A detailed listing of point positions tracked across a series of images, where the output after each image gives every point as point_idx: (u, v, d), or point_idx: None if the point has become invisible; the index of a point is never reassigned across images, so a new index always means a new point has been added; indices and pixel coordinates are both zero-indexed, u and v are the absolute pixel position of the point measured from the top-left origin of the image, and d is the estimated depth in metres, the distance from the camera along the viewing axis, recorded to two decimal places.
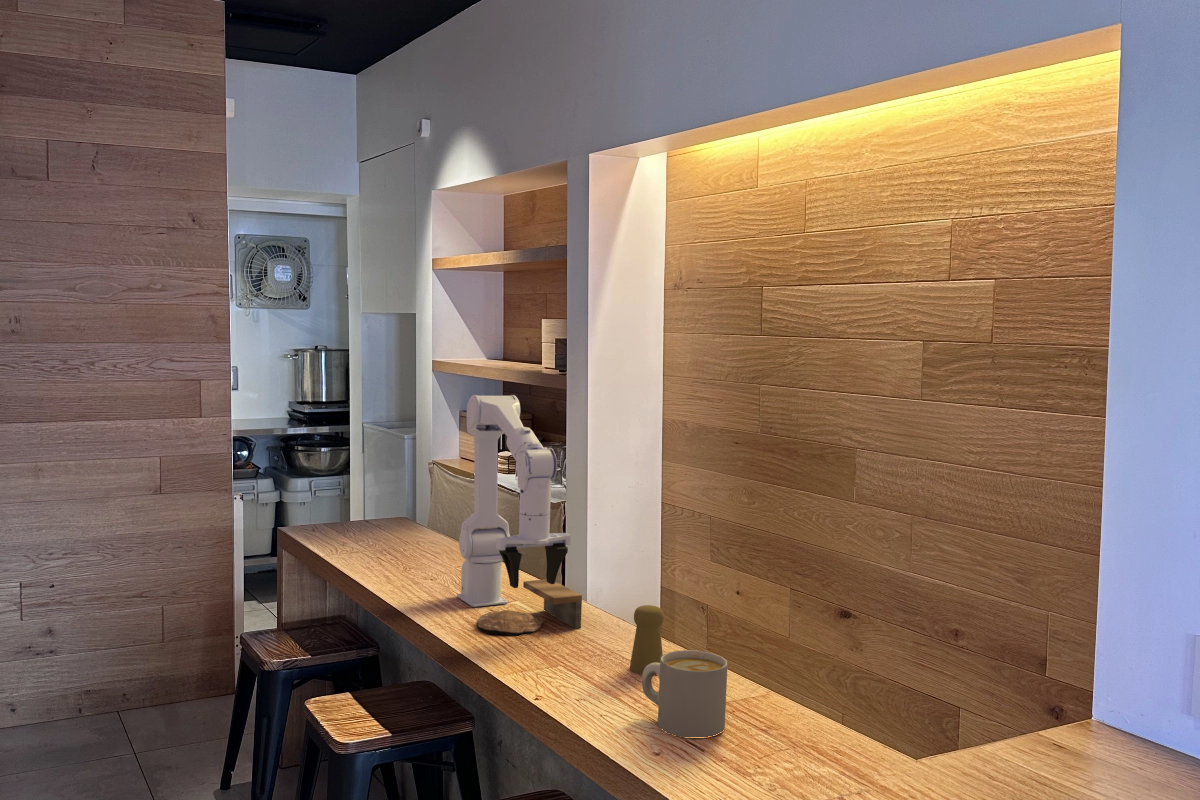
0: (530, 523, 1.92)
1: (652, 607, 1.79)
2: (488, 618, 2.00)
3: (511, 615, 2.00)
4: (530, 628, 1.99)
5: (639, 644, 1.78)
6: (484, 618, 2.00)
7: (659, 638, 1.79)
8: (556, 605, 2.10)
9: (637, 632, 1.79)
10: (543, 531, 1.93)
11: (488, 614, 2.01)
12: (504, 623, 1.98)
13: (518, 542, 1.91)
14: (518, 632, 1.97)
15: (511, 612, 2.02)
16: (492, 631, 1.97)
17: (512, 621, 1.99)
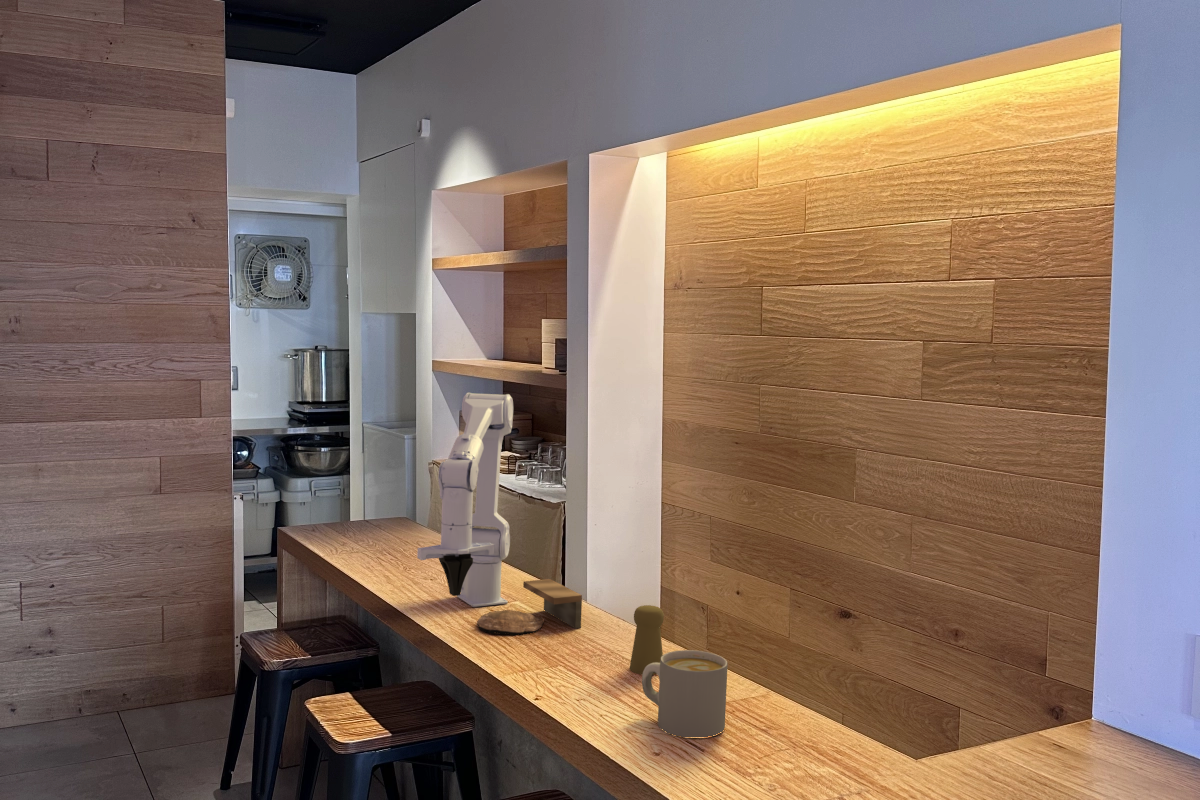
0: (451, 533, 1.93)
1: (652, 607, 1.79)
2: (488, 618, 2.00)
3: (512, 615, 2.00)
4: (531, 628, 1.99)
5: (639, 644, 1.78)
6: (485, 618, 2.00)
7: (659, 638, 1.79)
8: (556, 605, 2.10)
9: (637, 632, 1.79)
10: (464, 541, 1.94)
11: (489, 614, 2.01)
12: (505, 622, 1.98)
13: (439, 552, 1.92)
14: (519, 631, 1.98)
15: (512, 612, 2.02)
16: (493, 631, 1.97)
17: (513, 620, 1.99)
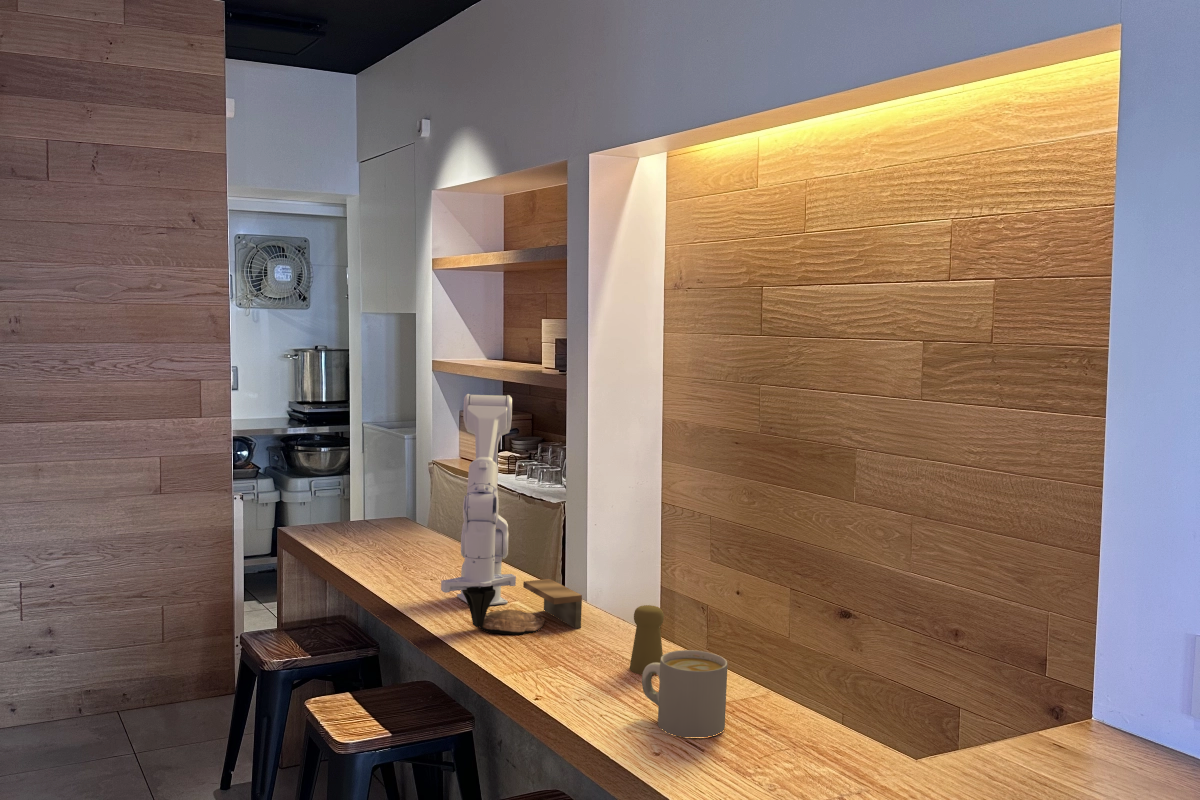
0: (475, 566, 1.96)
1: (652, 607, 1.79)
2: (489, 617, 2.00)
3: (513, 614, 2.01)
4: (532, 627, 2.00)
5: (639, 644, 1.78)
6: (486, 617, 2.01)
7: (659, 638, 1.79)
8: (556, 605, 2.10)
9: (637, 632, 1.79)
10: (487, 574, 1.96)
11: (490, 613, 2.01)
12: (506, 622, 1.98)
13: (462, 584, 1.95)
14: (520, 631, 1.98)
15: (513, 611, 2.02)
16: (494, 630, 1.97)
17: (513, 620, 1.99)
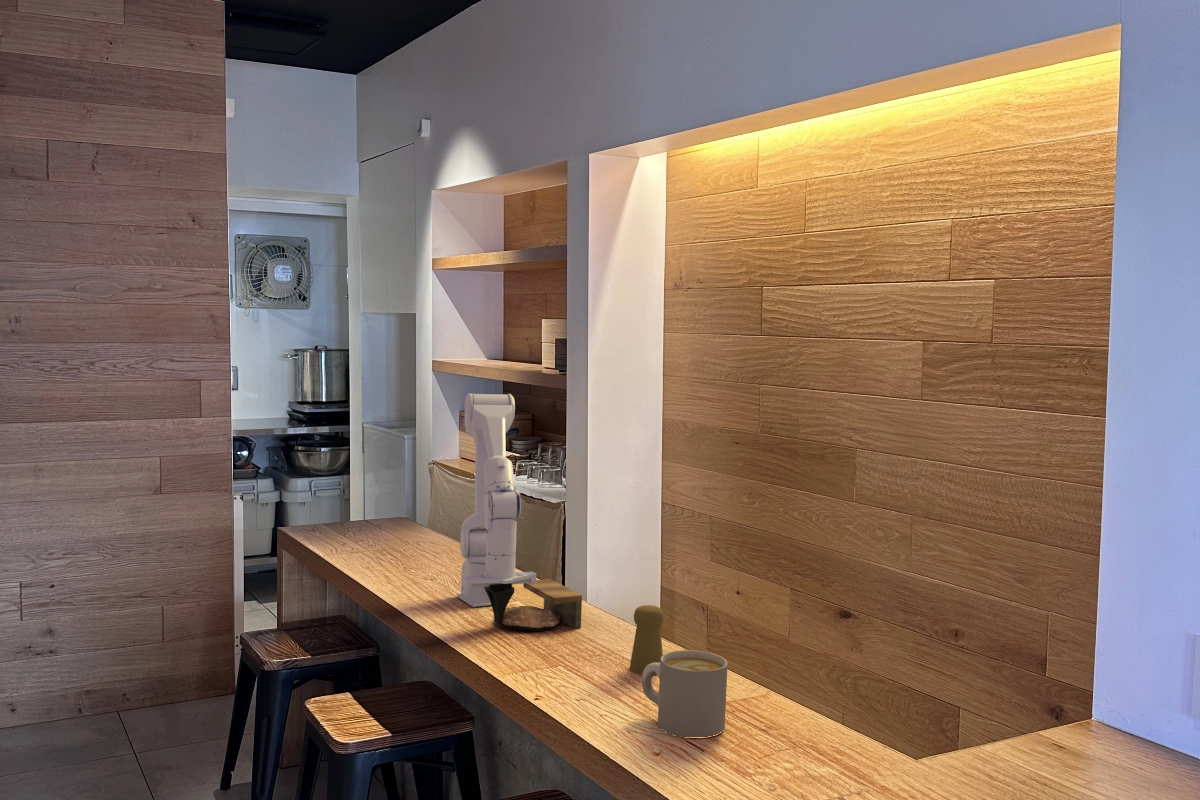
0: (496, 563, 1.98)
1: (652, 607, 1.79)
2: (507, 613, 2.02)
3: (531, 610, 2.02)
4: (550, 623, 2.02)
5: (639, 644, 1.78)
6: (504, 614, 2.02)
7: (659, 638, 1.79)
8: (556, 605, 2.10)
9: (637, 632, 1.79)
10: (508, 571, 1.98)
11: (507, 610, 2.03)
12: (524, 618, 2.00)
13: (484, 581, 1.97)
14: (539, 627, 2.00)
15: (530, 607, 2.04)
16: (513, 626, 1.99)
17: (532, 616, 2.01)
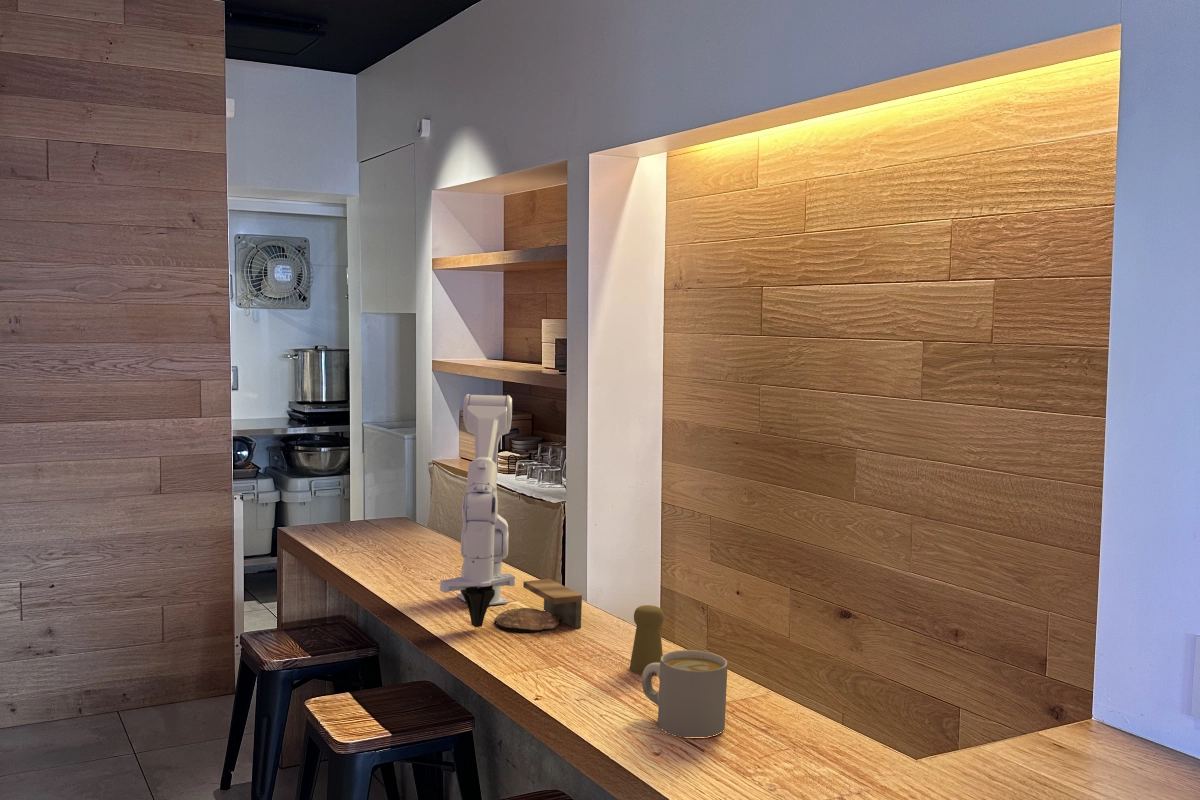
0: (474, 565, 1.96)
1: (652, 607, 1.79)
2: (507, 616, 2.02)
3: (530, 613, 2.02)
4: (550, 625, 2.02)
5: (639, 644, 1.78)
6: (503, 616, 2.02)
7: (659, 638, 1.79)
8: (556, 605, 2.10)
9: (637, 632, 1.79)
10: (486, 573, 1.96)
11: (507, 612, 2.03)
12: (524, 620, 2.00)
13: (461, 584, 1.95)
14: (538, 629, 2.00)
15: (530, 610, 2.04)
16: (513, 628, 1.99)
17: (531, 618, 2.01)
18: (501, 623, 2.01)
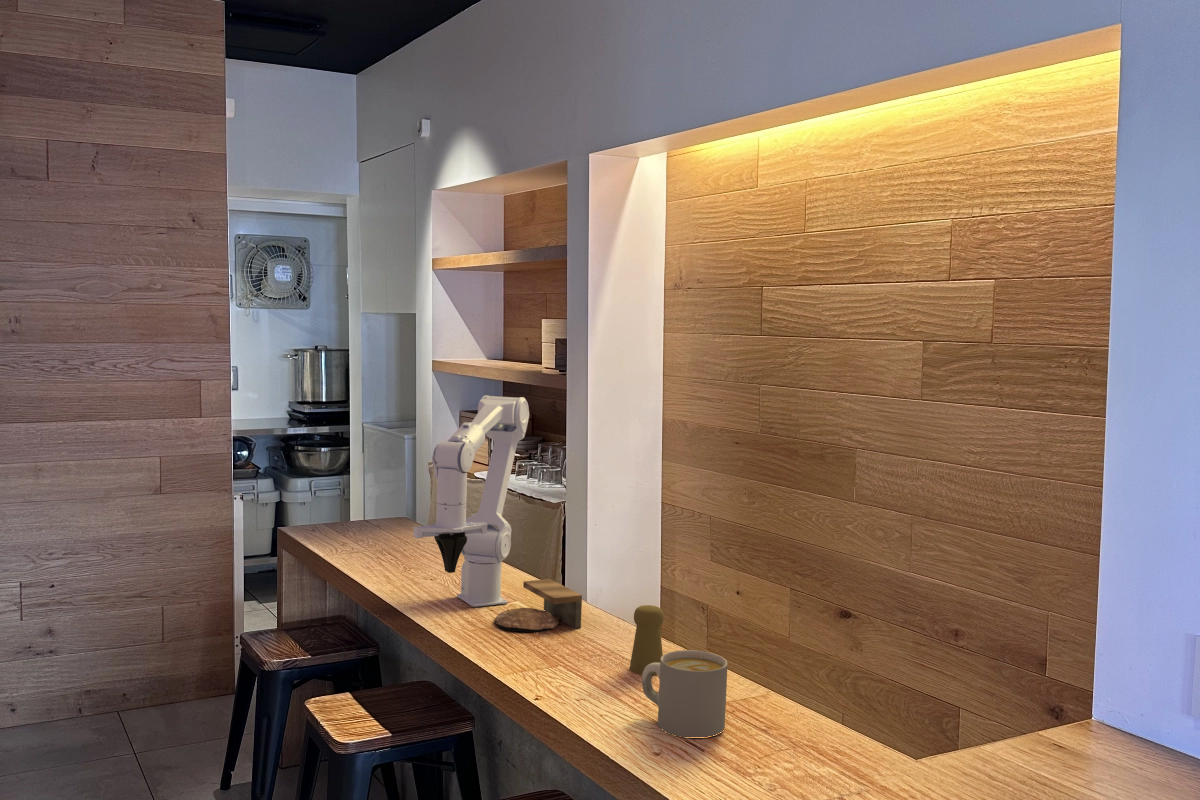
0: (446, 512, 2.01)
1: (652, 607, 1.79)
2: (507, 615, 2.02)
3: (530, 612, 2.03)
4: (549, 625, 2.02)
5: (639, 644, 1.78)
6: (503, 616, 2.02)
7: (659, 638, 1.79)
8: (556, 605, 2.10)
9: (637, 632, 1.79)
10: (458, 520, 2.01)
11: (507, 612, 2.03)
12: (524, 620, 2.00)
13: (434, 530, 2.00)
14: (538, 628, 2.00)
15: (529, 609, 2.04)
16: (512, 628, 1.99)
17: (531, 618, 2.01)
18: (501, 623, 2.01)
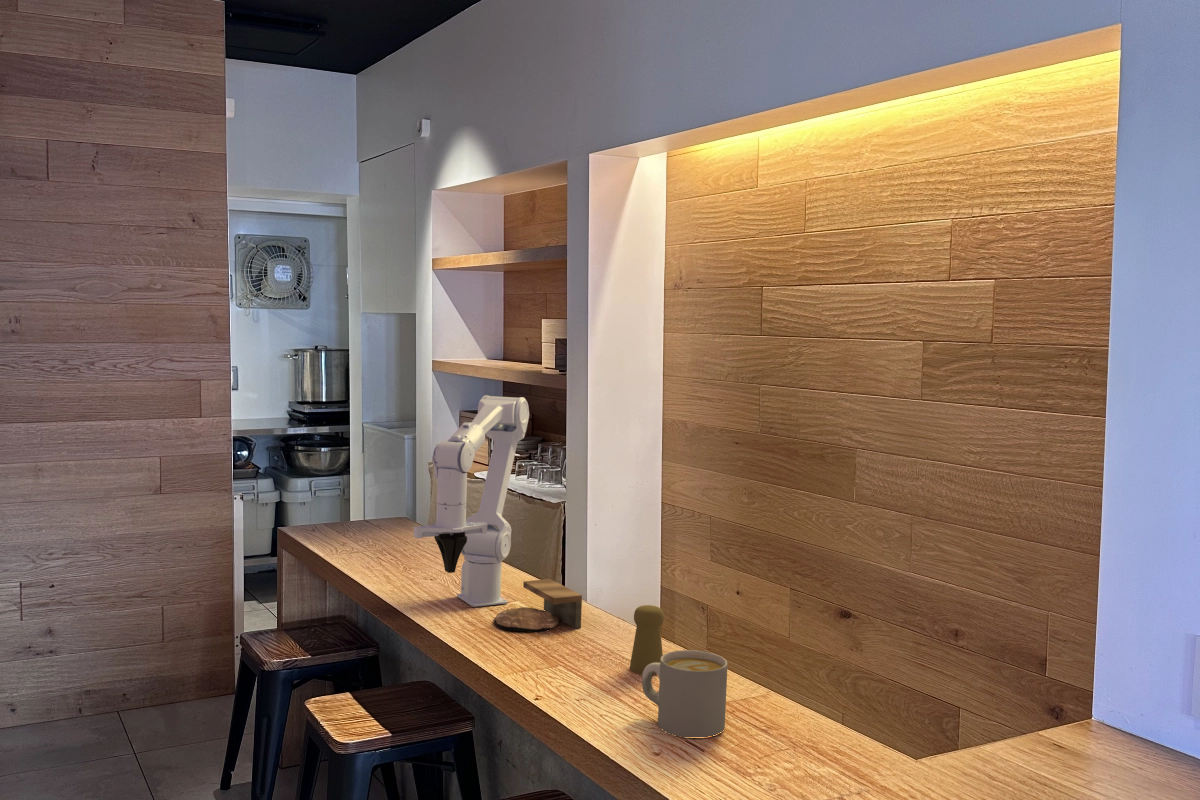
0: (446, 512, 2.01)
1: (652, 607, 1.79)
2: (506, 615, 2.02)
3: (530, 612, 2.03)
4: (549, 625, 2.02)
5: (639, 644, 1.78)
6: (503, 615, 2.02)
7: (659, 638, 1.79)
8: (556, 605, 2.10)
9: (637, 632, 1.79)
10: (458, 520, 2.01)
11: (506, 611, 2.03)
12: (523, 619, 2.00)
13: (434, 530, 2.00)
14: (537, 628, 2.00)
15: (529, 609, 2.04)
16: (512, 628, 1.99)
17: (531, 617, 2.01)
18: (500, 622, 2.01)
